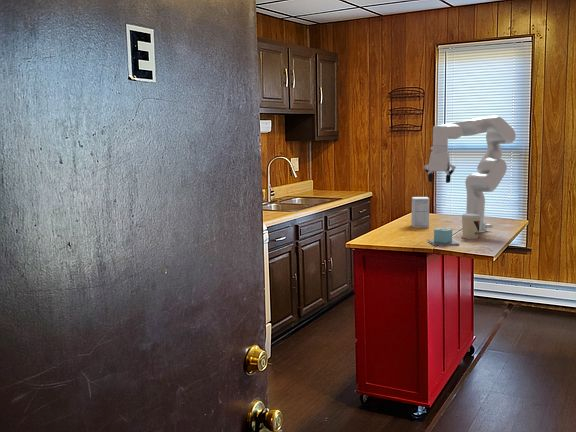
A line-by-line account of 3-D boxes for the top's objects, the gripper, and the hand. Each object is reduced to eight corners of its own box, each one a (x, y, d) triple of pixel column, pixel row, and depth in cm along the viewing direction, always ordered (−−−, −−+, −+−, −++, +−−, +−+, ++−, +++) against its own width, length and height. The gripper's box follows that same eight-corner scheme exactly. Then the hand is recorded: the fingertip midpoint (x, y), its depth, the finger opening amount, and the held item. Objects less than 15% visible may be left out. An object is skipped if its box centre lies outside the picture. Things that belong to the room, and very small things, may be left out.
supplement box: (427, 225, 354) (428, 196, 352) (429, 227, 345) (430, 198, 343) (410, 225, 355) (411, 196, 353) (412, 227, 346) (413, 198, 344)
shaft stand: (450, 241, 302) (451, 227, 301) (459, 245, 290) (459, 231, 289) (427, 241, 301) (427, 227, 300) (434, 245, 289) (435, 231, 288)
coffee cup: (477, 239, 306) (478, 216, 305) (458, 237, 311) (459, 214, 310) (482, 236, 314) (483, 214, 312) (464, 235, 319) (464, 212, 317)
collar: (439, 239, 300) (440, 227, 299) (452, 241, 296) (452, 229, 295) (433, 241, 295) (434, 229, 294) (445, 243, 291) (446, 230, 290)
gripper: (421, 149, 316) (420, 182, 318) (452, 149, 305) (451, 183, 307) (428, 148, 321) (427, 181, 324) (458, 149, 310) (457, 182, 313)
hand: (439, 182), depth 315 cm, fingers open, 9 cm apart
